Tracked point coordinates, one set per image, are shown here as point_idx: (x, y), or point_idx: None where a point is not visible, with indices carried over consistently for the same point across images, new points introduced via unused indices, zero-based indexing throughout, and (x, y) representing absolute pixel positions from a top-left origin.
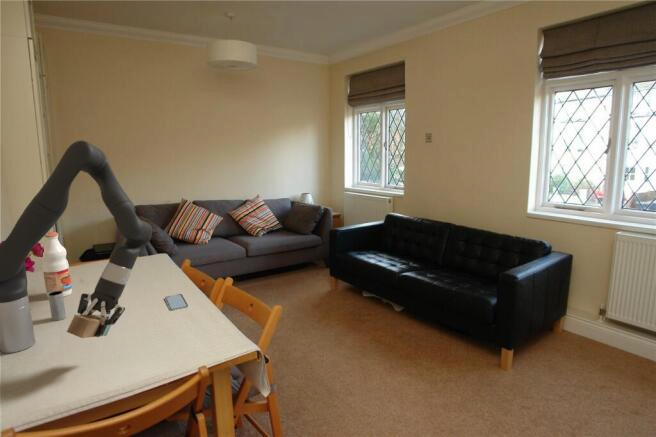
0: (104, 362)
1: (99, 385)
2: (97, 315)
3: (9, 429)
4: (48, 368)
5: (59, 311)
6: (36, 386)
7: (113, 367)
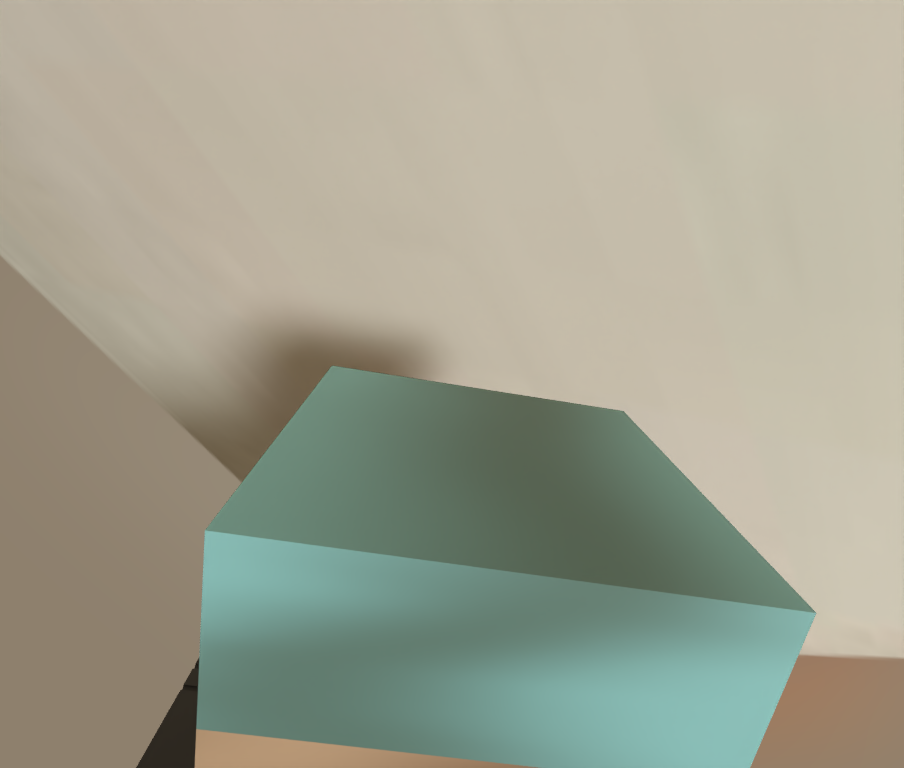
0: (640, 332)
1: None
2: (278, 760)
3: None
4: (252, 331)
5: None
6: None
7: (762, 429)
